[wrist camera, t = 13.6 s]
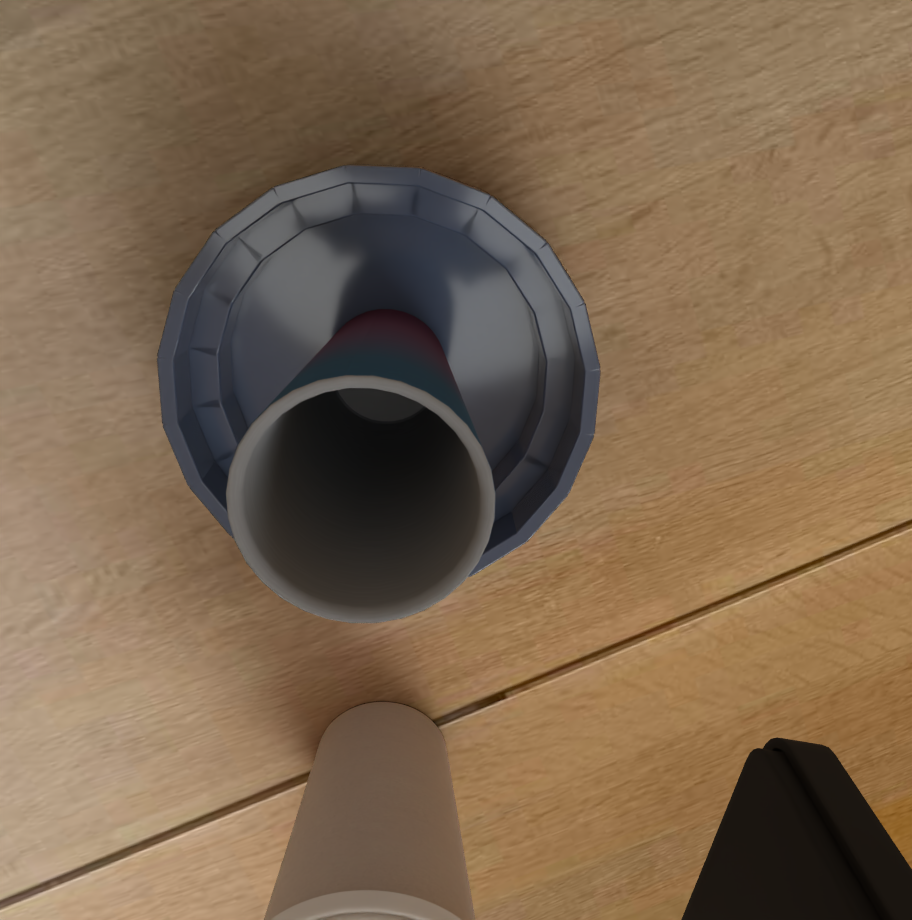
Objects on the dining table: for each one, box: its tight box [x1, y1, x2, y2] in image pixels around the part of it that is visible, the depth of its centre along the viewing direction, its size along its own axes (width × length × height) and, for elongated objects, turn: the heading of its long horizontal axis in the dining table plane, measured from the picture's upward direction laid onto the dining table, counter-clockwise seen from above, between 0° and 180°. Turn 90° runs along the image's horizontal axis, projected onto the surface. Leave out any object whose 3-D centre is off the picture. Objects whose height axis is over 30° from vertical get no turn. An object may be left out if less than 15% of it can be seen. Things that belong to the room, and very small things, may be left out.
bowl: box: [157, 164, 600, 577], centre depth 34 cm, size 16×16×5 cm
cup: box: [226, 309, 496, 623], centre depth 29 cm, size 7×7×15 cm
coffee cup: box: [264, 702, 475, 920], centre depth 36 cm, size 10×10×15 cm
